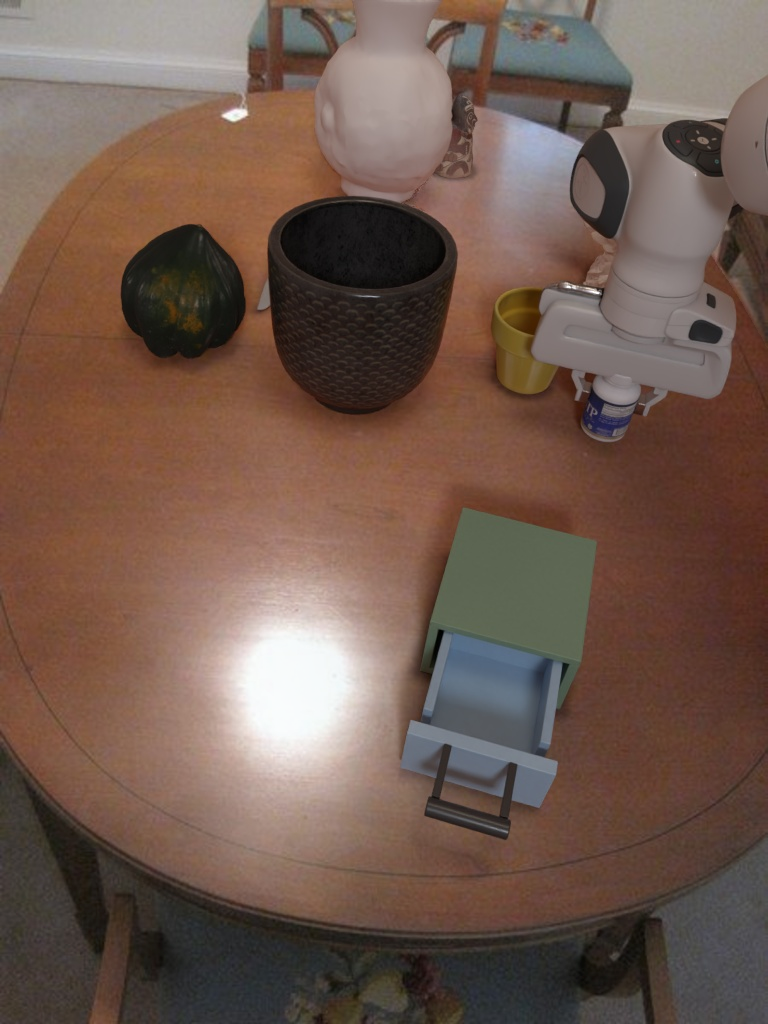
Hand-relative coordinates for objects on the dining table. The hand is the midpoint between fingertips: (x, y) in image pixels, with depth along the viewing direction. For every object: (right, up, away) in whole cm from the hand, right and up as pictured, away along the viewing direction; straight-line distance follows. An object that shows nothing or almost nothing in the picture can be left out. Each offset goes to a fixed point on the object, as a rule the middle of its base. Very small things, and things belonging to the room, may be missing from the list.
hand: (610, 405), depth 96 cm
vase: (-26, +38, +39) cm, 61 cm away
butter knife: (-40, +23, +23) cm, 51 cm away
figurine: (-14, +45, +47) cm, 67 cm away
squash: (-49, +10, +11) cm, 52 cm away
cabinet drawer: (-18, -31, -25) cm, 44 cm away
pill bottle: (0, -2, +3) cm, 4 cm away
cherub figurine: (+7, +21, +28) cm, 36 cm away
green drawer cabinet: (-14, -23, -16) cm, 31 cm away
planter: (-29, +3, +7) cm, 30 cm away
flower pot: (-8, +5, +11) cm, 14 cm away
